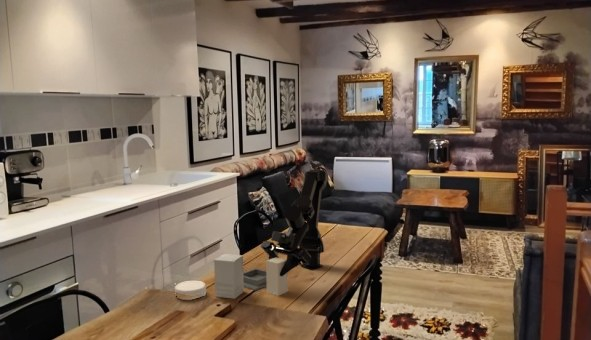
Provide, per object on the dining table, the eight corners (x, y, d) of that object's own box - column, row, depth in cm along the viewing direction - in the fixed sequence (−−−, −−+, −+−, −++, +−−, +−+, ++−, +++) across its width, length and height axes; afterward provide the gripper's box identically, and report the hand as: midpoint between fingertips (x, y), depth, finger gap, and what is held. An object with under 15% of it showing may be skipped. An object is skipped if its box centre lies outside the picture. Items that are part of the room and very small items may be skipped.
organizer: (257, 272, 178) (257, 265, 178) (281, 279, 171) (281, 272, 171) (230, 282, 168) (230, 275, 167) (255, 290, 160) (254, 283, 160)
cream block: (276, 288, 162) (276, 257, 161) (287, 291, 159) (287, 259, 158) (266, 292, 159) (266, 260, 157) (277, 296, 155) (277, 263, 154)
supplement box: (244, 291, 159) (244, 255, 158) (234, 299, 152) (234, 261, 151) (224, 288, 162) (224, 253, 160) (214, 296, 155) (213, 259, 153)
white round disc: (191, 303, 150) (190, 293, 149) (168, 297, 155) (168, 287, 155) (212, 293, 158) (212, 283, 158) (190, 287, 163) (190, 278, 163)
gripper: (263, 218, 165) (241, 256, 158) (306, 225, 153) (284, 267, 146) (278, 235, 172) (258, 272, 165) (320, 244, 160) (300, 284, 153)
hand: (274, 273), depth 157 cm, fingers open, 5 cm apart
